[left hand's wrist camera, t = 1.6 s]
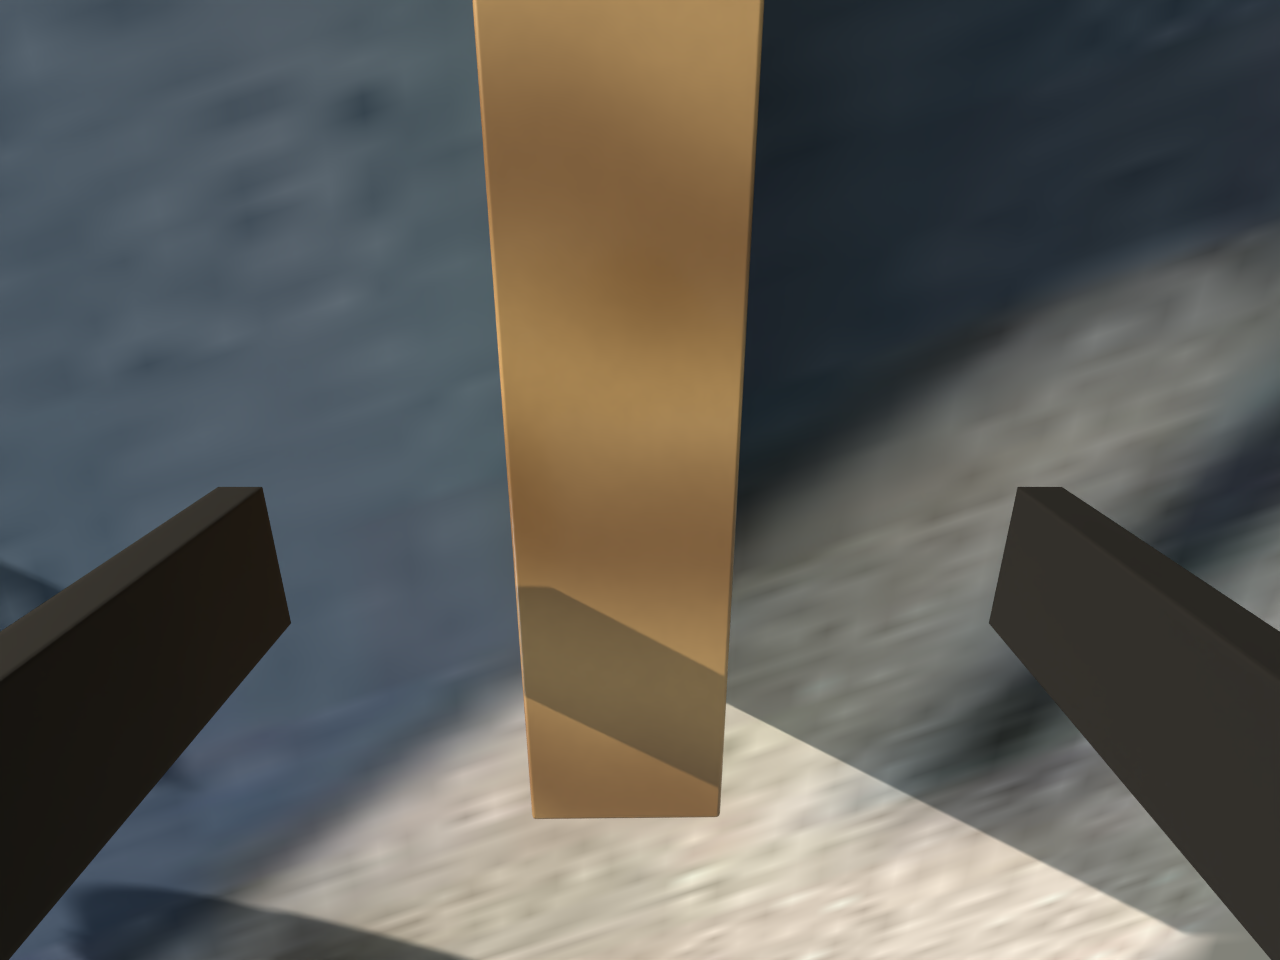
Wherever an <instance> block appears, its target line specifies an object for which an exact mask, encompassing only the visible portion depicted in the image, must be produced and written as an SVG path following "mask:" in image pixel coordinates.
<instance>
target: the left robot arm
mask: <svg viewBox="0 0 1280 960" xmlns="http://www.w3.org/2000/svg"><path fill="white" fill-rule="evenodd" d="M290 624H291V621H290V616H289V611H288V607H287V602H286V597H285V592H284V588H283V583H282V578H281V574H280V569H279V564H278V559H277V555H276V550H275V545H274V540H273V536H272V531H271V526H270V521H269V517H268V512H267V507H266V502H265V498H264V493H263V488H262V487H218V488H216V489H215V490H213V491H211V492H210V493H208V494H207V495H205V496H204V497H202V498H201V499H199V500H198V501H196V502H195V503H193V504H192V505H190V506H189V507H187V508H186V509H184V510H183V511H181V512H180V513H178V514H177V515H175V516H174V517H172V518H171V519H169V520H168V521H166V522H165V523H163V524H162V525H160V526H159V527H157V528H156V529H154V530H153V531H151V532H150V533H148V534H147V535H145V536H144V537H142V538H141V539H139V540H138V541H136V542H135V543H133V544H132V545H130V546H129V547H127V548H126V549H124V550H123V551H121V552H120V553H118V554H117V555H115V556H114V557H112V558H111V559H109V560H108V561H106V562H105V563H103V564H102V565H100V566H99V567H97V568H96V569H94V570H93V571H91V572H90V573H88V574H87V575H85V576H83V577H82V578H80V579H79V580H77V581H76V582H74V583H73V584H71V585H70V586H68V587H67V588H65V589H64V590H62V591H61V592H59V593H58V594H56V595H55V596H53V597H52V598H50V599H49V600H47V601H46V602H44V603H43V604H41V605H40V606H38V607H37V608H35V609H34V610H32V611H31V612H29V613H28V614H26V615H25V616H23V617H22V618H20V619H19V620H17V621H16V622H14V623H13V624H11V625H10V626H8V627H7V628H5V629H4V630H2V631H1V632H0V960H9V959H10V958H11V956H12V955H13V954H14V953H15V952H16V950H17V949H18V948H19V947H20V946H21V944H22V943H23V942H24V941H25V940H26V939H27V937H28V936H29V935H30V934H31V933H32V931H33V930H34V929H35V928H36V927H37V925H38V924H39V923H40V922H41V921H42V919H43V918H44V917H45V916H46V915H47V913H48V912H49V911H50V910H51V909H52V908H53V906H54V905H55V904H56V903H57V902H58V900H59V899H60V898H61V897H62V896H63V894H64V893H65V892H66V891H67V890H68V888H69V887H70V886H71V885H72V884H73V882H74V881H75V880H76V879H77V878H78V877H79V875H80V874H81V873H82V872H83V871H84V869H85V868H86V867H87V866H88V865H89V863H90V862H91V861H92V860H93V859H94V857H95V856H96V855H97V854H98V853H99V851H100V850H101V849H102V848H103V847H104V846H105V844H106V843H107V842H108V841H109V840H110V838H111V837H112V836H113V835H114V834H115V832H116V831H117V830H118V829H119V828H120V826H121V825H122V824H123V823H124V822H125V820H126V819H127V818H128V817H129V816H130V815H131V813H132V812H133V811H134V810H135V809H136V807H137V806H138V805H139V804H140V803H141V801H142V800H143V799H144V798H145V797H146V795H147V794H148V793H149V792H150V791H151V789H152V788H153V787H154V786H155V785H156V784H157V782H158V781H159V780H160V779H161V778H162V776H163V775H164V774H165V773H166V772H167V770H168V769H169V768H170V767H171V766H172V764H173V763H174V762H175V761H176V760H177V758H178V757H179V756H180V755H181V754H182V753H183V751H184V750H185V749H186V748H187V747H188V745H189V744H190V743H191V742H192V741H193V739H194V738H195V737H196V736H197V735H198V733H199V732H200V731H201V730H202V729H203V727H204V726H205V725H206V724H207V723H208V721H209V720H210V719H211V718H212V717H213V716H214V714H215V713H216V712H217V711H218V710H219V708H220V707H221V706H222V705H223V704H224V702H225V701H226V700H227V699H228V698H229V696H230V695H231V694H232V693H233V692H234V690H235V689H236V688H237V687H238V686H239V685H240V683H241V682H242V681H243V680H244V679H245V677H246V676H247V675H248V674H249V673H250V671H251V670H252V669H253V668H254V667H255V665H256V664H257V663H258V662H259V661H260V659H261V658H262V657H263V656H264V655H265V654H266V652H267V651H268V650H269V649H270V648H271V646H272V645H273V644H274V643H275V642H276V640H277V639H278V638H279V637H280V636H281V634H282V633H283V632H284V631H285V630H286V628H287V627H288V626H289V625H290ZM989 624H990V625H991V626H992V627H993V628H994V630H995V631H996V632H997V633H998V634H999V636H1000V637H1001V638H1002V639H1003V640H1004V642H1005V643H1006V644H1007V645H1008V646H1009V648H1010V649H1011V650H1012V651H1013V652H1014V654H1015V655H1016V656H1017V657H1018V658H1019V659H1020V661H1021V662H1022V663H1023V664H1024V665H1025V667H1026V668H1027V669H1028V670H1029V671H1030V673H1031V674H1032V675H1033V676H1034V677H1035V679H1036V680H1037V681H1038V682H1039V683H1040V685H1041V686H1042V687H1043V688H1044V689H1045V690H1046V692H1047V693H1048V694H1049V695H1050V696H1051V698H1052V699H1053V700H1054V701H1055V702H1056V704H1057V705H1058V706H1059V707H1060V708H1061V710H1062V711H1063V712H1064V713H1065V714H1066V716H1067V717H1068V718H1069V719H1070V720H1071V721H1072V723H1073V724H1074V725H1075V726H1076V727H1077V729H1078V730H1079V731H1080V732H1081V733H1082V735H1083V736H1084V737H1085V738H1086V739H1087V741H1088V742H1089V743H1090V744H1091V745H1092V747H1093V748H1094V749H1095V750H1096V751H1097V753H1098V754H1099V755H1100V756H1101V757H1102V758H1103V760H1104V761H1105V762H1106V763H1107V764H1108V766H1109V767H1110V768H1111V769H1112V770H1113V772H1114V773H1115V774H1116V775H1117V776H1118V778H1119V779H1120V780H1121V781H1122V782H1123V784H1124V785H1125V786H1126V787H1127V788H1128V789H1129V791H1130V792H1131V793H1132V794H1133V795H1134V797H1135V798H1136V799H1137V800H1138V801H1139V803H1140V804H1141V805H1142V806H1143V807H1144V809H1145V810H1146V811H1147V812H1148V813H1149V815H1150V816H1151V817H1152V818H1153V819H1154V820H1155V822H1156V823H1157V824H1158V825H1159V826H1160V828H1161V829H1162V830H1163V831H1164V832H1165V834H1166V835H1167V836H1168V837H1169V838H1170V840H1171V841H1172V842H1173V843H1174V844H1175V846H1176V847H1177V848H1178V849H1179V850H1180V851H1181V853H1182V854H1183V855H1184V856H1185V857H1186V859H1187V860H1188V861H1189V862H1190V863H1191V865H1192V866H1193V867H1194V868H1195V869H1196V871H1197V872H1198V873H1199V874H1200V875H1201V877H1202V878H1203V879H1204V880H1205V881H1206V882H1207V884H1208V885H1209V886H1210V887H1211V888H1212V890H1213V891H1214V892H1215V893H1216V894H1217V896H1218V897H1219V898H1220V899H1221V900H1222V902H1223V903H1224V904H1225V905H1226V906H1227V908H1228V909H1229V910H1230V911H1231V912H1232V913H1233V915H1234V916H1235V917H1236V918H1237V919H1238V921H1239V922H1240V923H1241V924H1242V925H1243V927H1244V928H1245V929H1246V930H1247V931H1248V933H1249V934H1250V935H1251V936H1252V937H1253V939H1254V940H1255V941H1256V942H1257V943H1258V944H1259V946H1260V947H1261V948H1262V949H1263V950H1264V952H1265V953H1266V954H1267V955H1268V956H1269V958H1270V959H1271V960H1280V632H1279V631H1278V630H1276V629H1275V628H1273V627H1272V626H1270V625H1269V624H1267V623H1266V622H1264V621H1263V620H1261V619H1260V618H1258V617H1257V616H1255V615H1254V614H1252V613H1251V612H1249V611H1248V610H1246V609H1245V608H1243V607H1242V606H1240V605H1239V604H1237V603H1236V602H1234V601H1233V600H1231V599H1230V598H1228V597H1227V596H1225V595H1224V594H1222V593H1221V592H1219V591H1218V590H1216V589H1215V588H1213V587H1212V586H1210V585H1209V584H1207V583H1206V582H1204V581H1203V580H1201V579H1200V578H1198V577H1197V576H1195V575H1194V574H1192V573H1190V572H1189V571H1187V570H1186V569H1184V568H1183V567H1181V566H1180V565H1178V564H1177V563H1175V562H1174V561H1172V560H1171V559H1169V558H1168V557H1166V556H1165V555H1163V554H1162V553H1160V552H1159V551H1157V550H1156V549H1154V548H1153V547H1151V546H1150V545H1148V544H1147V543H1145V542H1144V541H1142V540H1141V539H1139V538H1138V537H1136V536H1135V535H1133V534H1132V533H1130V532H1129V531H1127V530H1126V529H1124V528H1123V527H1121V526H1120V525H1118V524H1117V523H1115V522H1114V521H1112V520H1111V519H1109V518H1108V517H1106V516H1105V515H1103V514H1102V513H1100V512H1099V511H1097V510H1096V509H1094V508H1093V507H1091V506H1090V505H1088V504H1087V503H1085V502H1084V501H1082V500H1081V499H1079V498H1078V497H1076V496H1075V495H1073V494H1072V493H1070V492H1069V491H1067V490H1065V489H1064V488H1062V487H1018V488H1017V493H1016V498H1015V502H1014V507H1013V512H1012V517H1011V521H1010V526H1009V531H1008V536H1007V540H1006V545H1005V550H1004V555H1003V559H1002V564H1001V569H1000V574H999V578H998V583H997V588H996V592H995V597H994V602H993V607H992V611H991V616H990V621H989Z"/></svg>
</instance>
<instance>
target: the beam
mask: <svg viewBox="0 0 1280 960" xmlns="http://www.w3.org/2000/svg"><path fill="white" fill-rule="evenodd" d="M473 13H474V26H475V40H476V53H477V67H478V81H479V94H480V108H481V122H482V135H483V149H484V163H485V176H486V190H487V204H488V217H489V231H490V245H491V258H492V272H493V285H494V299H495V313H496V326H497V340H498V354H499V367H500V381H501V395H502V408H503V422H504V436H505V449H506V463H507V477H508V490H509V504H510V517H511V531H512V545H513V558H514V572H515V586H516V599H517V613H518V627H519V640H520V654H521V668H522V681H523V695H524V709H525V722H526V736H527V749H528V763H529V777H530V790H531V804H532V815H533V818H535V819H569V818H667V817H718V816H719V814H720V802H721V784H722V765H723V747H724V729H725V710H726V692H727V674H728V655H729V637H730V619H731V600H732V582H733V564H734V545H735V527H736V509H737V490H738V472H739V454H740V435H741V417H742V399H743V380H744V362H745V344H746V325H747V307H748V289H749V270H750V252H751V234H752V216H753V197H754V179H755V161H756V142H757V124H758V106H759V87H760V69H761V51H762V32H763V14H764V0H473Z"/></svg>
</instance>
